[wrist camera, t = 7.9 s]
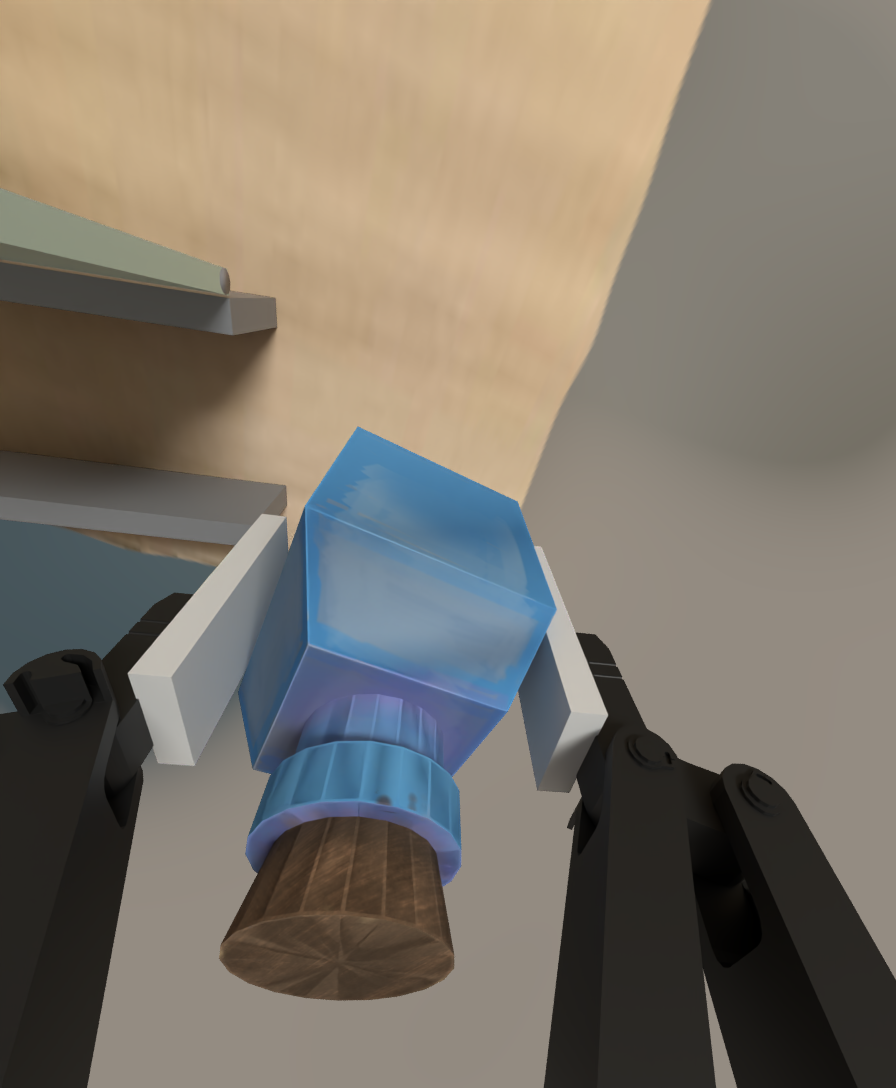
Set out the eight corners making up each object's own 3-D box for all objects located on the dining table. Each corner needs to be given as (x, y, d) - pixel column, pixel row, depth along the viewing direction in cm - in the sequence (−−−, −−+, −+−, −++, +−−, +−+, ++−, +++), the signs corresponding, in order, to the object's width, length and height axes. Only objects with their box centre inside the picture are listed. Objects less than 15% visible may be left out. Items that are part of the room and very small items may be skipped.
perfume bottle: (443, 619, 18) (443, 1043, 8) (303, 566, 17) (77, 1000, 6) (517, 501, 15) (669, 916, 5) (357, 426, 14) (115, 790, 4)
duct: (-154, 229, 22) (-338, 208, 17) (275, 297, 24) (229, 298, 19) (-45, 465, 29) (-153, 502, 23) (287, 504, 30) (255, 547, 25)
